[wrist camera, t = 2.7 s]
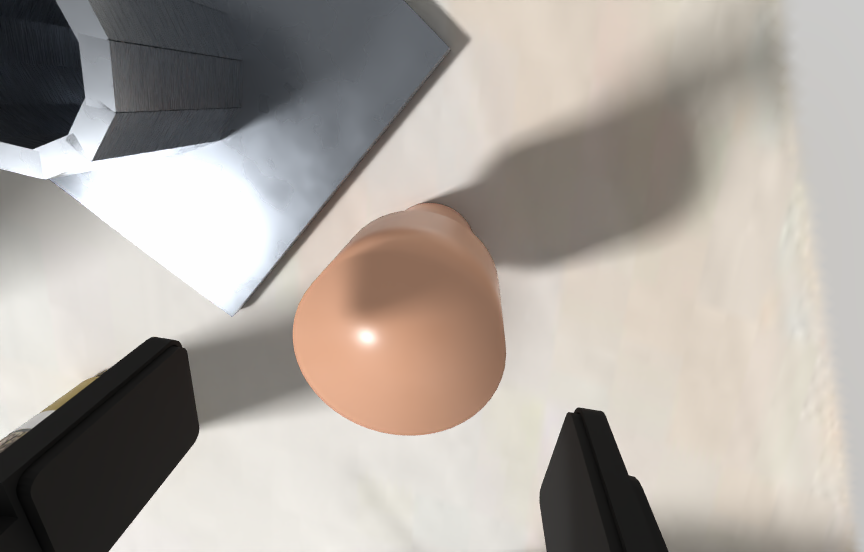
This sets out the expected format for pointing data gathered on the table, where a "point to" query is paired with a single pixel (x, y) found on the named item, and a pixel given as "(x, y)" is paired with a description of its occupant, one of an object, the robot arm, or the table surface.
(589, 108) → the table surface
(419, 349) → the cap
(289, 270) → the table surface
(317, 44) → the square base post stand
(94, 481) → the robot arm
